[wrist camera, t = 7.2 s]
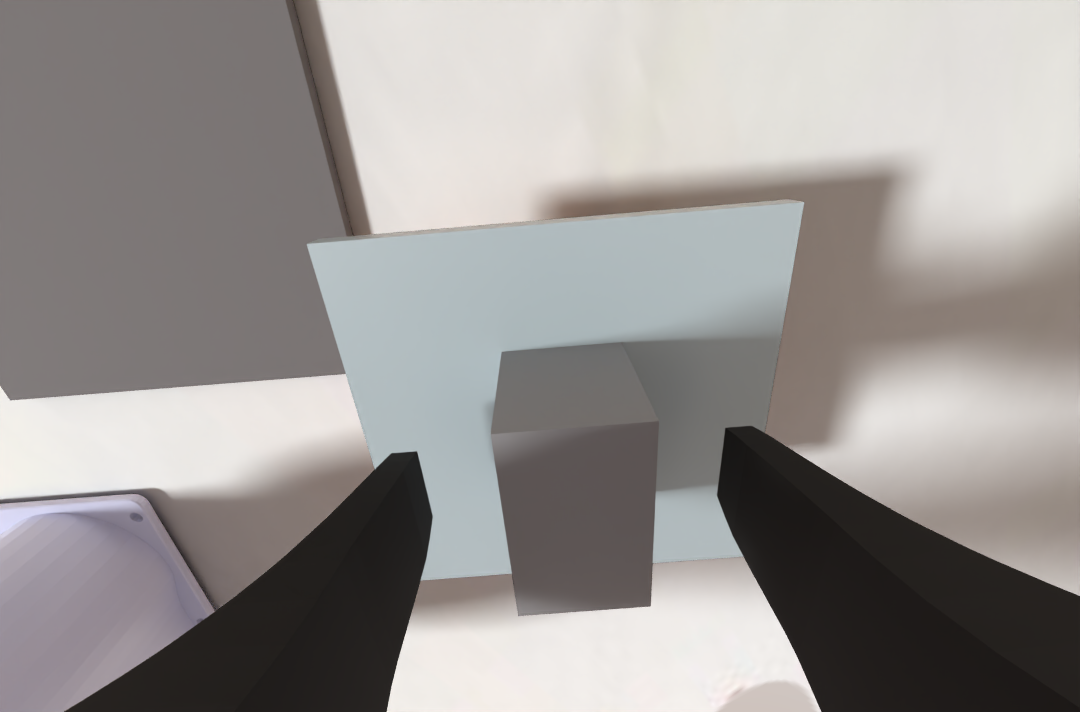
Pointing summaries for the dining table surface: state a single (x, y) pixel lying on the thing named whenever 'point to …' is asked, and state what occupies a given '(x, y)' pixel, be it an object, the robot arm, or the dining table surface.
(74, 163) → the mat
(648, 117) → the dining table surface
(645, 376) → the cover
